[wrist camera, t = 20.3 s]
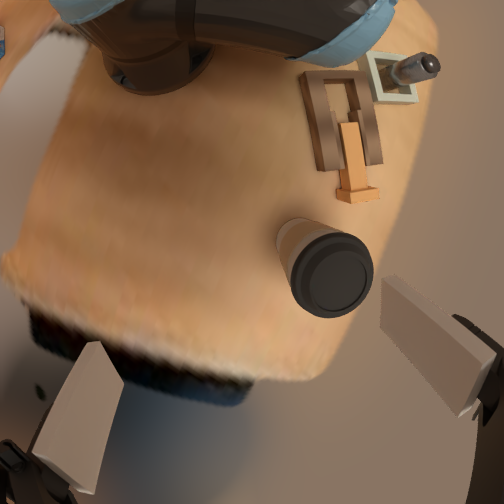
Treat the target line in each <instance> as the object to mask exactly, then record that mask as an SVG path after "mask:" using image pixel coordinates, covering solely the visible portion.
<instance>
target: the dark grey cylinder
mask: <svg viewBox="0 0 504 504" xmlns="http://www.w3.org/2000/svg"><path fill="white" fill-rule="evenodd" d="M440 68H441V67H440V63H439V61H438V59H437V58H436V57H435V56H434V55H432V54H427V53H425V52H420V53H418V54H415V55H413V56H411V57H408V58H406V59H403V60H401V61H399V62H396V63H394V64H392V65H390V66H387V67H385V68H383V69H381V70H379V71H378V74H379V78H380V81H381V85H382V90H383V91H385V92H387V91H391V90H394V89H397V88H400V87H403V86H407V85H410V84H414V83H417V82H421V81H424V80H428V79H432V78H435V77H436V76H437V73H438V72H439V71H440Z"/></svg>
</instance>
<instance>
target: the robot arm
mask: <svg viewBox="0 0 504 504" xmlns="http://www.w3.org/2000/svg"><path fill="white" fill-rule="evenodd" d="M49 2H50V3H51V5H52V6H53V7H54V8H55V9H56V11H57V12H58V13H59V14H60V16H61V19H62V20H63V21H64V22H65V23H69V24H70V25H71V26H73V27H74V28H75V29H76V30H77V31H79V32H80V33H81V34H82V35H84V36H85V37H86V38H87V39H88V40H89V41H91V42H92V43H93V44H94V45H95V46H96V47H98V48H99V49H100V50H101V51H102V54H103V60H104V65H105V68H106V71H107V73H108V74H109V76H110V77H111V78H112V80H113V81H114V82H116V83H117V84H118V85H119V86H121V87H122V88H124V89H125V90H127V91H129V92H132V93H135V94H140V95H159V94H164V93H168V92H171V91H174V90H177V89H179V88H181V87H183V86H185V85H186V84H188V83H190V82H191V81H192V80H194V79H195V78H196V77H197V76H198V75H199V74H200V73H201V72H202V71H203V70H204V69H205V68H206V66H207V65H208V63H209V62H210V60H211V58H212V55H213V52H214V48H215V44H219V45H226V46H232V47H238V48H244V49H249V50H254V51H259V52H264V53H268V54H273V55H277V56H281V57H284V58H285V59H286V60H290V61H303V62H307V63H311V64H315V65H319V66H322V67H328V68H335V67H338V66H341V65H347V64H350V63H351V62H353V61H355V60H357V59H358V58H360V57H361V56H363V55H364V54H365V53H366V52H367V51H368V50H370V49H371V48H372V46H373V45H374V44H375V43H376V42H377V41H378V40H379V39H380V38H381V36H382V35H383V33H384V32H385V31H386V29H387V28H388V26H389V24H390V22H391V20H392V18H393V16H394V13H395V10H394V8H393V7H394V6H395V5H396V4H397V3H398V0H49ZM381 280H382V282H381V283H382V284H381V316H380V328H381V329H382V330H383V331H384V333H385V334H386V335H387V336H388V337H389V338H390V339H391V340H392V341H393V342H394V344H395V345H396V346H397V347H398V348H399V349H400V350H401V352H402V353H403V354H404V355H405V356H406V357H407V358H408V360H410V362H411V363H412V364H413V365H414V366H415V368H416V369H417V370H418V371H419V372H420V373H421V375H422V376H423V377H424V378H425V379H426V380H427V382H428V383H429V384H430V385H431V386H432V388H433V389H434V390H435V391H436V392H437V394H438V395H439V396H440V397H441V398H442V400H443V401H444V402H445V403H446V404H447V406H448V407H449V408H450V409H451V411H452V412H453V413H454V414H455V416H456V417H457V418H458V417H460V416H461V415H462V414H464V413H465V412H467V411H468V410H469V409H471V408H472V406H473V404H474V402H475V401H476V398H478V399H479V400H480V401H481V403H480V405H479V406H478V408H477V410H476V412H475V413H474V415H473V418H472V420H475V418H476V417H477V415H478V413H479V415H478V433H477V442H476V451H475V459H474V465H473V472H472V477H471V482H470V487H469V491H468V496H467V500H466V504H504V348H503V347H502V346H500V345H499V344H498V343H497V342H495V341H494V340H493V339H492V338H491V337H489V336H488V335H487V334H486V333H484V332H483V331H481V329H479V328H478V327H477V326H474V324H473V323H472V322H470V321H469V320H468V319H466V318H464V317H462V316H459V315H456V314H454V315H452V316H450V315H449V314H448V313H447V312H445V311H444V310H443V309H441V308H440V307H439V306H438V305H436V304H435V303H434V302H432V301H431V300H430V299H428V298H427V297H426V296H424V295H423V294H421V293H420V292H419V291H417V290H416V289H415V288H413V287H412V286H411V285H409V284H408V283H406V282H405V281H404V280H402V279H401V278H399V277H398V276H397V275H395V274H394V275H391V276H388V277H385V278H382V279H381ZM123 386H124V383H123V381H122V380H121V378H120V376H119V375H118V373H117V371H116V370H115V368H114V366H113V364H112V363H111V361H110V359H109V357H108V356H107V354H106V352H105V350H104V348H103V346H102V344H101V343H100V341H97V342H90V343H87V344H86V346H85V347H84V349H83V351H82V353H81V354H80V356H79V358H78V359H77V361H76V363H75V365H74V367H73V369H72V370H71V372H70V374H69V376H68V377H67V379H66V381H65V383H64V385H63V387H62V389H61V391H60V392H59V394H58V396H57V398H56V400H55V402H54V403H52V404H51V406H50V407H49V408H48V409H47V410H46V412H45V413H44V415H43V418H42V421H41V422H40V424H39V426H38V429H37V430H36V432H35V435H34V437H33V439H32V441H31V443H30V446H29V448H28V450H27V453H26V454H25V453H24V452H23V451H22V450H21V449H20V448H19V447H18V446H17V445H16V444H15V443H14V442H13V441H12V440H9V439H5V440H2V441H1V442H0V504H8V503H7V502H6V497H8V498H9V499H10V500H12V501H13V502H15V504H78V503H77V501H76V499H75V497H74V495H73V494H72V492H71V491H70V490H68V488H69V485H71V486H72V487H74V488H75V489H77V490H78V491H80V492H84V493H89V494H94V493H95V488H96V483H97V479H98V474H99V470H100V466H101V462H102V457H103V454H104V450H105V446H106V443H107V439H108V435H109V431H110V428H111V425H112V421H113V418H114V414H115V411H116V408H117V404H118V401H119V398H120V395H121V392H122V388H123Z"/></svg>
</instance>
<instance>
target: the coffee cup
mask: <svg viewBox="0 0 504 504" xmlns="http://www.w3.org/2000/svg"><path fill="white" fill-rule="evenodd" d="M276 247H277V251H278V253H279V256H280V260H281V263H282V266H283V269H284V271H285V274H286V277H287V280H288V282H289V285H290V287H291V291H292V294H293V296H294V298H295V300H296V302H297V303H298V304H299V305H300V306H301V307H302V308H303V309H305V310H306V311H308V312H309V313H311V314H313V315H315V316H318V317H321V318H336V317H340V316H343V315H345V314H347V313H349V312H351V311H352V310H354V309H355V308H356V307H358V306H359V305H360V304H361V302H362V301H363V300H364V299H365V297H366V296H367V294H368V292H369V290H370V287H371V285H372V281H373V273H374V269H373V262H372V259H371V256H370V253H369V251H368V249H367V247H366V246H365V244H364V243H363V242H362V241H361V240H360V239H358V238H357V237H355V236H353V235H351V234H348V233H344V232H342V231H340V230H338V229H335V228H332V227H330V226H327V225H324V224H321V223H319V222H315V221H310V220H308V219H304V218H296V219H292V220H290V221H288V222H287V223H285V224H284V225H283V226H282V227H281V229H280V230H279V232H278V234H277V238H276Z"/></svg>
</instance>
